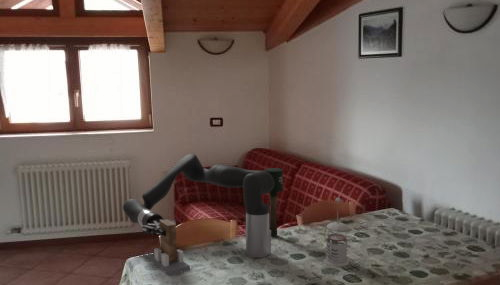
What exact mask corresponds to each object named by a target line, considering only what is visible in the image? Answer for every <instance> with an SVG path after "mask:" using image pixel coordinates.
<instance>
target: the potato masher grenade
mask: <svg viewBox="0 0 500 285" xmlns="http://www.w3.org/2000/svg"><path fill="white" fill-rule="evenodd" d="M264 171H266V172H268V173H269V174H271V176H272V177H273V179H274V187H273V189H272V190H271V191H270V192H269V230H271V238H272V237H273V238H274V237H275V238H276V237H277V236H278V226H277V206H278V205H277V204H278V193H279V192H280V193H281V192H283V191H284V187H283V186H284V184H283V183H284V182H283V180H284V179H283V169H282V168H279V167H268V168H265V169H264Z"/></svg>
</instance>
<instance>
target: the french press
mask: <svg viewBox="0 0 500 285" xmlns="http://www.w3.org/2000/svg"><path fill="white" fill-rule="evenodd" d="M335 202H337V203H339V202H341V198H340V197H335ZM336 216H337V217H336V218H337V219H336V220H337V221H334V222H330V223H328V224H327V225H326V228H325V230H324V232H326V230H327V229H328V230H327V239H326V233H324V242H325V243H326V249H325V250H326V251H325V252H326V255H325V258H323V262H324V264H326V265H329V266H332V267H345V266H347V265H349V264H350V260H349V259H348V240H347V236H346V235H345V234H340V233H338V232H346V231H348V229H349V226H347V225H346V224H345V223H343V222H341V221H340V222H339V211H337V215H336ZM332 231H333V232H336V233H329V232H332Z"/></svg>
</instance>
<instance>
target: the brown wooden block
mask: <svg viewBox="0 0 500 285" xmlns="http://www.w3.org/2000/svg"><path fill="white" fill-rule="evenodd" d="M160 228H163V229H164V230H166V236H163V235H160V234H159V236H160V238H159V241H160V242H159V243H160V250H161V252H162V253H166V254H167V255H169V262H172V261H176V260H177V250H178V249H177V246H178V245H177V224H176V222H175V223H173V222H171V219H164V220H162V221H160Z"/></svg>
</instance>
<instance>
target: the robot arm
mask: <svg viewBox="0 0 500 285" xmlns="http://www.w3.org/2000/svg"><path fill="white" fill-rule="evenodd" d="M181 173H182V174H183V175H184V177H185V179H186V180H188V181H191V182H198V183H199V182H200V183H206V184H212V185H216V186H220V187H224V188H242V191H243V193H242V194H243V205H244V208H245V254H246V256H247V257H249V258H256V259H257V258H265V257H268V256H269V255H270V254H271V253H272V237H271V230H270V204H268V203H266V202H263V201H262V195H267V194H268V193H270V191H271V190H272V189H273V187H274V179H273V177H272V176H271V174H269V173H268V172H266V171H265V170H253V169H252V170H251V169H245V168H242V167H236V166H232V165H228V164H223V163H217V164H215V165H213V166H211V167H210V168H209V169H208V168H205V167H204V166H203V165H202V163H201V161H200V160H199V158H198V156H197V155H196V154H195V153H189V154H186V155H184V156H182V158H180V159H179V160H178V161H177V162H176V163H175V164H174V165H173V166H172V167H171V169H169V171H167V172H166V174H165V175H164V176H163V177H161V179H160V180H159V181H158V182H156V183H155V184H154V185H153V186H151V187H150V188H148V189H147V190H146V191H144V192H143V193H142V196H141V197H142V200H143V204H142V202H140V201H139V200H138V199H136V198H129V199H127V200H125V202H124V203H123V205H122V210H123V212H124V213H125V215H126V216H127V217H128V219H129V220H130V221H131V223H134V224H135V223H136V224H138V225H140V227H142V233H145V234H149V235H152V236H154V235H156V234H157V235H159V236H160V235H163V236H166V230H164V229H163V228H160V221H162V220H165V219H164V218H163V216H162V215H160V214H159V213H158V212H155V211H154V210H152V208H153V207H154V206H155V205H157V204H159V202H161V201H162V200H163V199H164V198H165V197H166V196H167V195H168V194H169V192H170V190H171V188H172V186H173V184H174V182H175V180H176V178H177V177H178V176H179V175H180V174H181ZM170 221H171V222H173V223H175V224H176V222H175V219H174V218H172V219H170Z"/></svg>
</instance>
